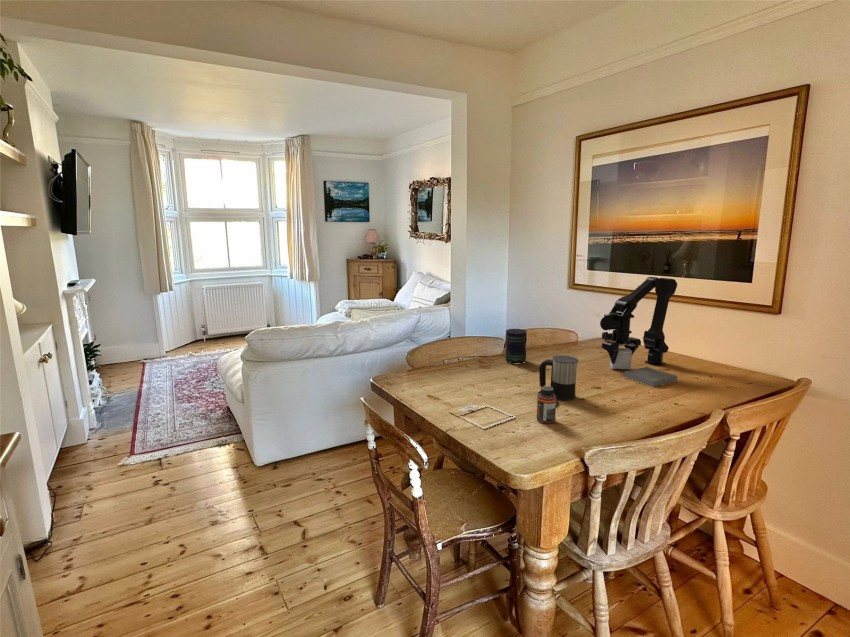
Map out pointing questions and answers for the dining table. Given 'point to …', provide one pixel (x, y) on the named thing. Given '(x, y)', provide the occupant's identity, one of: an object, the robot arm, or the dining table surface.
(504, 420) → the photo frame
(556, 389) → the milk frother
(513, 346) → the storage jar
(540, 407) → the supplement bottle
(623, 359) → the medicine box
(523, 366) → the dining table surface
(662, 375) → the riser block
